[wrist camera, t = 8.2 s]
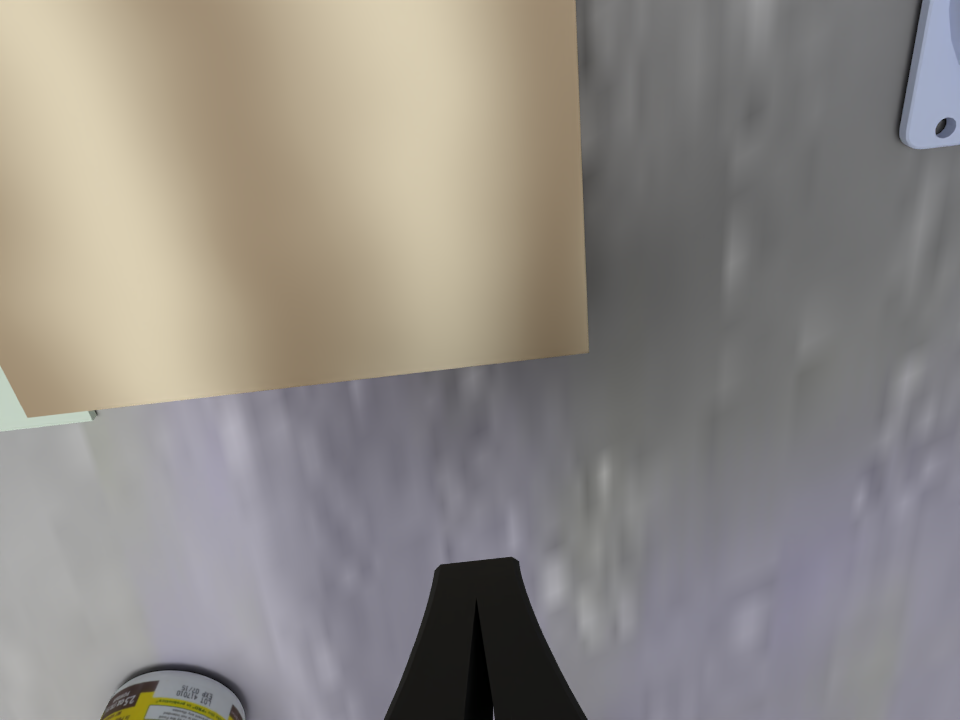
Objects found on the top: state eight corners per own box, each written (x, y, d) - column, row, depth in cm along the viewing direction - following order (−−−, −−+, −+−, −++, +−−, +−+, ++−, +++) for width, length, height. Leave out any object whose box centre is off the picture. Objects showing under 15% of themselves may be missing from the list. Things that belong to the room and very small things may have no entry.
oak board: (529, -367, 14) (556, -482, 10) (564, 287, 21) (588, 353, 17) (-168, -272, 14) (-373, -352, 10) (98, 342, 21) (27, 417, 17)
